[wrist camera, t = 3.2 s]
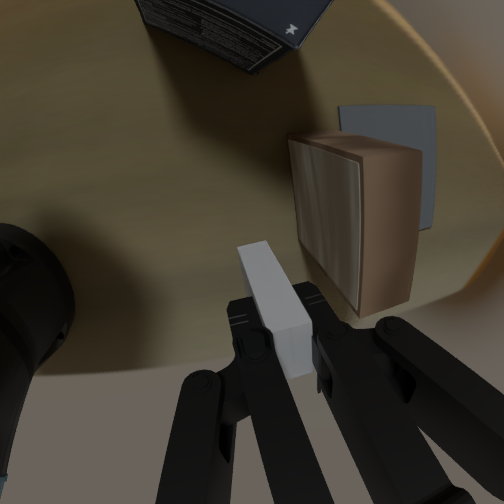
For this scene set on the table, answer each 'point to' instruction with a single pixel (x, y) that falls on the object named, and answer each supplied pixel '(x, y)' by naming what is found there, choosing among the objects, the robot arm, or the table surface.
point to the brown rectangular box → (358, 213)
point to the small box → (237, 26)
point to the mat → (400, 138)
